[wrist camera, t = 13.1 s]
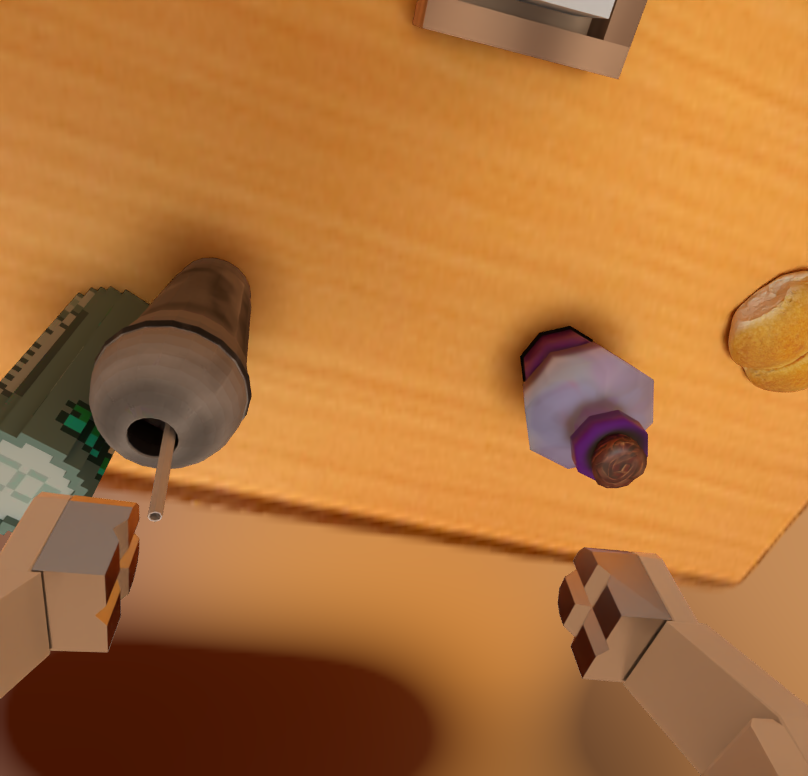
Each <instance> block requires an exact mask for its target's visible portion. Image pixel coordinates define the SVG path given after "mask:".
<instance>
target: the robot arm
mask: <svg viewBox="0 0 808 776" xmlns="http://www.w3.org/2000/svg"><path fill="white" fill-rule="evenodd" d="M138 522H139V505H138V504H137V503H134V502H126V501H118V500H110V499H102V498H94V497H86V496H78V495H74V496H72V495H64V494H56V493H48V492H41V493H40V494H38V495H37V496H36V497H35V498H33V500H32V502H31V503H30V505H29V507H28V508H27V510H26V511H25V513H24V515H23V516H22V518H21V520H20V521H19V523H18V524H17V526H16V528H15V529H14V531H13V532H12V534H11V536H10V537H9V539H8V541H7V542H6V544H5V545H4V547H3V549H2V550H1V552H0V699H1V698H2V697H3V696H4V695H5V694H6V693H7V692H8V691H9V690H11V689H12V688H13V687H14V686H15V685H16V684H17V683H18V682H19V681H21V680H22V679H23V678H24V677H25V676H26V675H27V674H28V673H29V672H30V671H32V670H33V669H34V668H35V667H36V666H37V665H38V664H39V663H40V662H42V661H43V660H44V659H45V658H46V657H47V656H48V655H49V654H50V651H83V652H108V650H109V647H110V645H111V642H112V639H113V636H114V633H115V631H116V628H117V625H118V622H119V620H120V616H121V606H120V605H121V599H122V598H124V597H125V596H126V595H128V594H129V592H130V588H131V586H132V583H133V580H134V576H135V571H136V567H137V563H138V555H139V537H138V536H137V535H136V534H135V530H136V527H137V525H138ZM573 562H574V564H575V567H576V570H575V571H573V572H571V573H570V574H569V575H567V576H565V578H564V580H563V582H562V584H561V586H560V588H559V596H558V608H559V614H560V617H561V620H562V623H563V626H564V627H565V628H566V629H567V630H568V631H569V632H571V634H572V635H573V636H574V639H573V642H572V644H571V649H572V651H573V654H574V657H575V660H576V662H577V665H578V668H579V671H580V674H581V676H582V679H592V680H603V681H616V682H625V683H624V686H625V687H626V688H627V689H628V691H629V692H630V693H631V694H632V695H633V696H634V698H635V699H636V700H637V701H638V702H639V703H640V705H641V706H642V707H643V708H644V709H645V710H646V712H647V713H648V714H649V715H650V716H651V717H652V718H653V720H655V722H656V723H657V724H658V725H659V727H660V728H661V729H662V730H663V731H664V732H665V734H666V735H667V736H668V737H669V738H670V739H671V741H672V742H673V743H674V744H675V745H676V746H677V748H678V749H679V750H680V751H681V752H682V753H683V755H684V756H685V757H686V758H687V759H688V760H689V762H690V763H691V764H692V765H693V766H694V767H695V769H696V770H697V771H698V772H699V773H700V774H701V775H700V776H808V706H807V705H806V704H805V703H804V702H802V701H801V700H800V699H799V698H797V697H796V696H795V695H794V694H792V693H791V692H790V691H789V690H787V689H786V688H785V687H784V686H783V685H781V684H780V683H779V682H778V681H776V680H775V679H774V678H773V677H771V676H770V675H769V674H768V673H766V672H765V671H764V670H763V669H761V668H760V667H759V666H758V665H756V664H755V663H754V662H753V661H751V660H750V659H749V658H748V657H747V656H745V655H744V654H742V652H740V651H739V650H738V649H736V648H735V647H734V646H733V645H732V644H730V643H729V642H728V641H727V640H725V639H724V638H723V637H722V636H720V635H719V634H718V633H717V632H715V631H714V630H713V629H712V628H710V627H709V626H708V625H707V624H700V623H698V621H697V619H696V617H695V615H694V614H693V612H692V610H691V608H690V607H689V605H688V603H687V602H686V600H685V598H684V596H683V595H682V593H681V591H680V589H679V588H678V586H677V584H676V582H675V581H674V579H673V577H672V576H671V574H670V572H669V570H668V569H667V567H666V565H665V563H664V562H663V560H662V559H661V558H660V557H659V556H658V555H657V554H652V553H641V552H628V551H618V550H607V549H596V548H585V547H584V548H583V549H581V550H580V551H579V552H578V553H577V555H576V557H575V559H574V560H573Z"/></svg>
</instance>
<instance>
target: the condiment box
mask: <svg viewBox="0 0 808 776" xmlns="http://www.w3.org/2000/svg"><path fill="white" fill-rule="evenodd" d="M646 2H647V0H615V2H614V5H613V8H612V11H611V14H610V17H609V19H603V18H591V17H579V16H573V15H569V14H566V13H562V12H558V11H555V10H551V9H547V8H543V7H540V6H536V5H532V4H529V3H525V2H521V1H518V0H417V4H416V9H415V14H414V19H413V25H416V26H418V27H421V28H424V29H428V30H432V31H436V32H440V33H443V34H447V35H451V36H455V37H459V38H463V39H466V40H470V41H474V42H478V43H482V44H485V45H489V46H493V47H497V48H501V49H505V50H508V51H512V52H516V53H520V54H524V55H527V56H531V57H535V58H539V59H543V60H547V61H550V62H554V63H558V64H562V65H566V66H569V67H573V68H577V69H581V70H585V71H589V72H592V73H596V74H600V75H604V76H608V77H611V78H615V79H619V76H620V73H621V71H622V68H623V65H624V62H625V60H626V57H627V54H628V51H629V49H630V46H631V43H632V41H633V38H634V35H635V32H636V30H637V27H638V24H639V21H640V19H641V16H642V13H643V10H644V8H645V5H646Z"/></svg>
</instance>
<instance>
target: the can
mask: <svg viewBox="0 0 808 776" xmlns="http://www.w3.org/2000/svg"><path fill="white" fill-rule="evenodd" d="M148 307H149V304H147V303H146V302H144V301H142V300H141V299H139V298H138V297H136V296H135V295H133V294H132V293H130V292H129V291H127V290H125V291H124V293H123V294H122V293H120V292H119V291H117V290H116V289H114V288H112V287H111V286H110V287H109V289H108V290H105V289H104V288H102V287H100V289H99V290H98V291H96V290H95V289H93V288H91V289H90V290H89V291H88V292H87V293H86V295H85V296H83V295H82V294H80V293H78V294H77V295H76V297H75V298H74V299H73V300H72V301H71V302H70V303H69V304H68V306H67V307H66V308H65V309H64V310H63V311H62V312H61V313H60V315H59V316H58V317H57V318H56V319H55V320H54V321H53V322H52V324H51V325H50V326H49V327H48V328H47V329H46V330H45V332H44V333H43V334H42V335H41V336H40V337H39V338H38V339H37V341H36V342H35V343H34V344H33V345H32V346H31V347H30V348H29V350H28V351H27V352H26V353H25V354H24V355H23V356H22V358H21V359H20V360H19V361H18V362H17V363H16V364H15V365H14V367H13V368H12V369H11V370H10V371H9V372H8V373H7V374H6V376H5V377H4V378H3V379H2V380H1V381H0V534H2V535H4V534H5V533H6V532H7V531H11V532H13V531H14V529H15V528H16V526H17V524H18V523H19V521H20V520H21V518H22V516H23V515H24V513H25V511H26V510H27V508H28V507H29V505H30V503H31V502H32V500H33V498H35V497H36V496H37V495H38V494H40V493H41V492H48V493H56V494H64V495H72V496H74V495H78V496H86V497H92V496H93V494H94V492H95V490H96V488H97V486H98V484H99V482H100V480H101V478H102V476H103V474H104V472H105V470H106V468H107V465H108V463H109V461H110V459H111V457H112V455H113V453H114V451H115V450H114V449H113V448H112V447H110V446H109V445H108V443H107V442H106V441H105V439H104V438H103V436H102V435H101V434H100V432H99V431H98V430H97V427H96V425H95V422H94V419H93V416H92V412H91V409H90V405H89V393H90V383H91V376H92V372H93V370H94V363H95V358H96V357H97V355H98V353H99V352H100V350H101V348H102V346H103V345H104V343H105V341H107V340H108V339H109V338H110V337H112V336H113V335H114V334H116V333H117V332H118V331H120V330H121V329H122V328H124V327H127V326H129V325H130V324H131V323H133V322H134V321H135V320H137V319H138V318H139V317H140V316H141V314H142V313H143V312H144V311H145V310H146V309H147V308H148Z"/></svg>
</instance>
